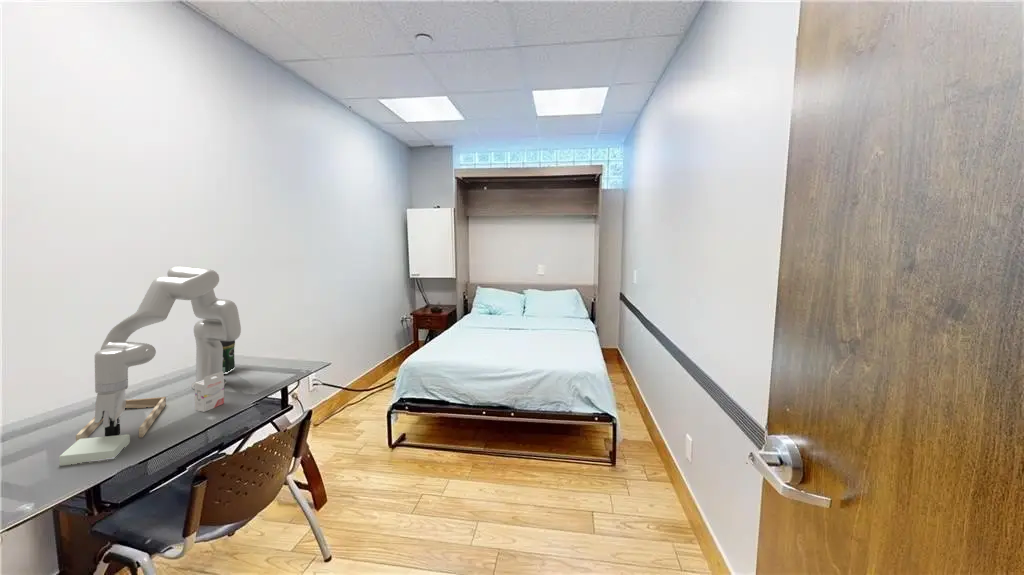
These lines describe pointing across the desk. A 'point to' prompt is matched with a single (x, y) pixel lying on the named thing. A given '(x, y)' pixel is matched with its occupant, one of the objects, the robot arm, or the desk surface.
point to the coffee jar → (228, 355)
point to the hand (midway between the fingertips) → (112, 436)
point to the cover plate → (94, 449)
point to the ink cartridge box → (209, 392)
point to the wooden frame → (134, 403)
